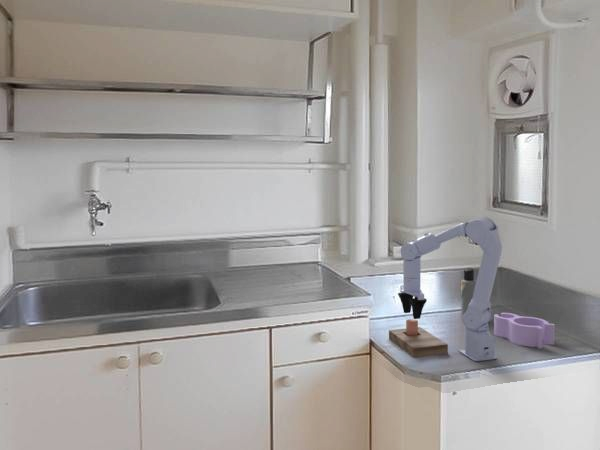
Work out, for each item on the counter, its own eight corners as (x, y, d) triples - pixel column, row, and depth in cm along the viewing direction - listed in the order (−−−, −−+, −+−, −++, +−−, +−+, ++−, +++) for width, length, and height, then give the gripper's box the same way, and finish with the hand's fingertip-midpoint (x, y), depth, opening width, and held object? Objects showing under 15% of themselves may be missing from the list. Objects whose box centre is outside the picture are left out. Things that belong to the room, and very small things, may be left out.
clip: (486, 335, 196) (486, 316, 195) (508, 329, 202) (509, 310, 202) (536, 350, 179) (537, 330, 178) (559, 343, 185) (559, 323, 185)
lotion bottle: (478, 317, 217) (479, 268, 215) (471, 320, 213) (472, 270, 211) (465, 315, 221) (465, 266, 219) (458, 318, 217) (458, 268, 215)
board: (447, 353, 178) (447, 344, 177) (413, 357, 175) (413, 348, 174) (419, 335, 197) (419, 327, 196) (388, 338, 194) (388, 330, 194)
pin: (419, 341, 188) (419, 321, 187) (409, 342, 187) (409, 323, 186) (414, 338, 192) (414, 318, 191) (404, 339, 191) (404, 319, 190)
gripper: (392, 273, 193) (392, 311, 195) (410, 282, 179) (410, 322, 181) (410, 272, 195) (410, 309, 196) (430, 280, 181) (429, 320, 182)
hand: (411, 315), depth 189 cm, fingers open, 7 cm apart
